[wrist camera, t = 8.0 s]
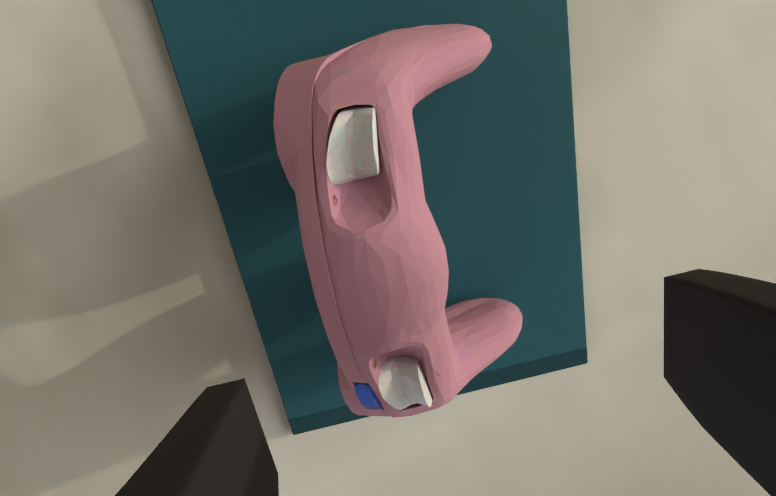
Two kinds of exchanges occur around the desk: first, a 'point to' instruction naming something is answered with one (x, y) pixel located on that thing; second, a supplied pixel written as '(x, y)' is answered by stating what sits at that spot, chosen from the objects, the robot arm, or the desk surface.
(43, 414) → the desk surface
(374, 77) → the video game controller
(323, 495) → the desk surface
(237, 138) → the teal board
